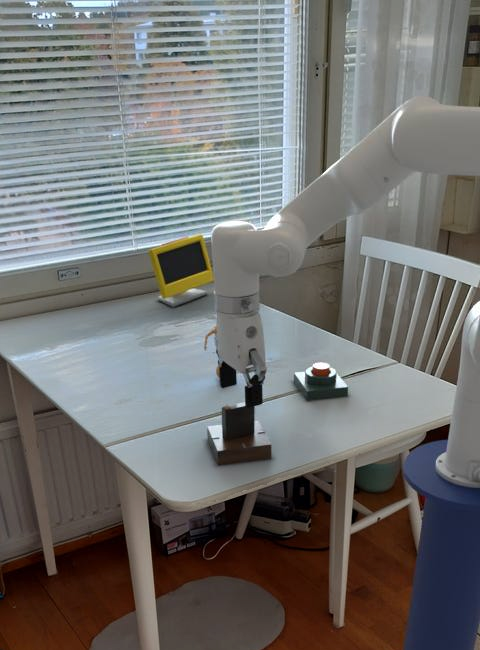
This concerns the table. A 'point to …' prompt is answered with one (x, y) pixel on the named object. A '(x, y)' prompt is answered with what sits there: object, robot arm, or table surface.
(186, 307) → the table surface
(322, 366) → the button
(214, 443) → the panel
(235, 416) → the handle
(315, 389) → the box
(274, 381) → the table surface
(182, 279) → the toy computer monitor
